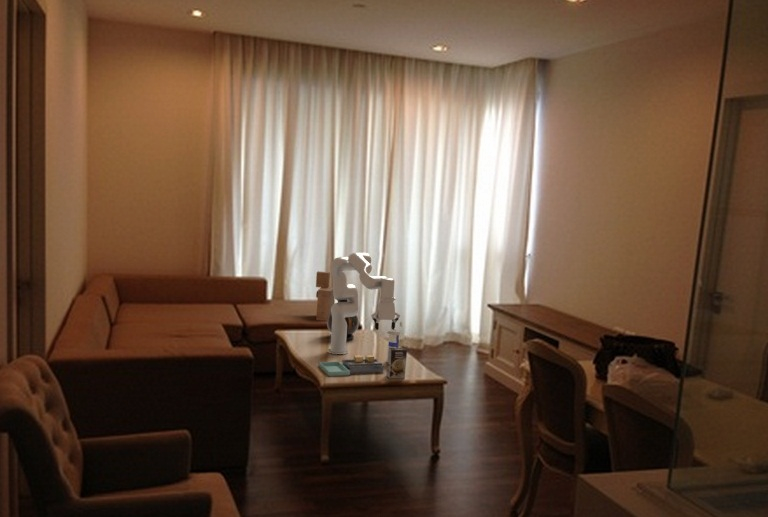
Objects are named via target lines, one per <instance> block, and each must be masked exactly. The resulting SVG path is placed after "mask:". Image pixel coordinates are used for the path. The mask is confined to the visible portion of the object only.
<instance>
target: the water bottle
mask: <svg viewBox="0 0 768 517" xmlns="http://www.w3.org/2000/svg"><path fill="white" fill-rule="evenodd" d="M399 327H401V328H402V327H403V323H402V322H399ZM386 333H387V334H388V339H387V341H388V345H387V348H386V358H385V363H386V362H388V352H389V348H400V347H399V346H400V338H399V337H401V331H397V330H396V329H394V330H393V329H388V330H387V331H386Z"/></svg>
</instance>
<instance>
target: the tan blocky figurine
mask: <svg viewBox="0 0 768 517" xmlns="http://www.w3.org/2000/svg"><path fill="white" fill-rule="evenodd" d="M330 278H331V272H330V271H329V272H328V271H317V272H316V279H315V288H318V290H316V293H315V294H316V300H317V302H316V318H315V320H316V321H322V322H323V321H324V322H325V321H326V322H327V320H328V316H329V314H330V312H331V307H332V305H333V304H335V298H334V295H333V286H330Z"/></svg>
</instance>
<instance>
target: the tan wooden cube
mask: <svg viewBox="0 0 768 517" xmlns="http://www.w3.org/2000/svg"><path fill="white" fill-rule="evenodd" d="M353 359H354V363H363V359H364V356H362V355H361V354H360V355H359V354H356V355H353Z"/></svg>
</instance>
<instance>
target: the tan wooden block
mask: <svg viewBox="0 0 768 517" xmlns="http://www.w3.org/2000/svg"><path fill="white" fill-rule="evenodd" d="M364 359H365V362H366V363H374V359H375V356H374V355H373V354H366V355H365V358H364Z"/></svg>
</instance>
